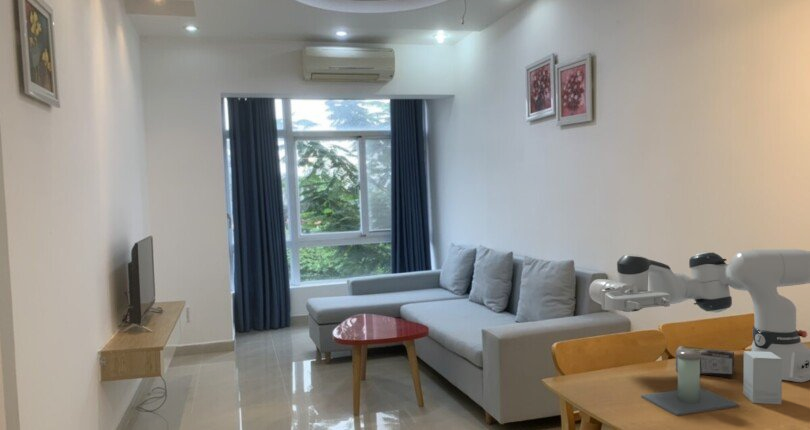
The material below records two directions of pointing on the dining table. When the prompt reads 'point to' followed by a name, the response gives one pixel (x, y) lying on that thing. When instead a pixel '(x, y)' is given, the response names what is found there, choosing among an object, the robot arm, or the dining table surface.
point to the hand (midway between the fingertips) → (654, 305)
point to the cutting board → (678, 407)
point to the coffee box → (713, 361)
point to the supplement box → (762, 377)
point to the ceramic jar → (688, 375)
